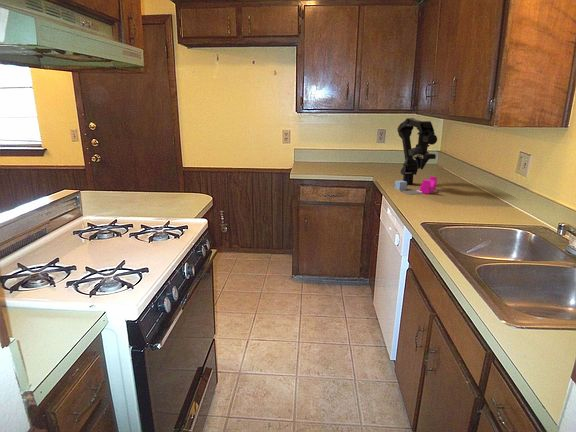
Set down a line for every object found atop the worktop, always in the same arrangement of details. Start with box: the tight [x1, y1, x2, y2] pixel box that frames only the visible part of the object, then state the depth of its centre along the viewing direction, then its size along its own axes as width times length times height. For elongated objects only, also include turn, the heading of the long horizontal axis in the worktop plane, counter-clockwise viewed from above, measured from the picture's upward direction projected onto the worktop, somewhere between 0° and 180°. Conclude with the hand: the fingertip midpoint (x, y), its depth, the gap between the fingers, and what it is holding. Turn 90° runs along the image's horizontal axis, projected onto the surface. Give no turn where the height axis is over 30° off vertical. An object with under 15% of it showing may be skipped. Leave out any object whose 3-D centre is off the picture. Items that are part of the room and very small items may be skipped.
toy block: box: [419, 176, 438, 195], centre depth 231 cm, size 15×6×8 cm, turn 144°
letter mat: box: [400, 189, 443, 195], centre depth 231 cm, size 9×23×1 cm, turn 108°
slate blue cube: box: [394, 179, 408, 191], centre depth 236 cm, size 5×5×5 cm
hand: (420, 169), depth 236 cm, fingers open, 2 cm apart
